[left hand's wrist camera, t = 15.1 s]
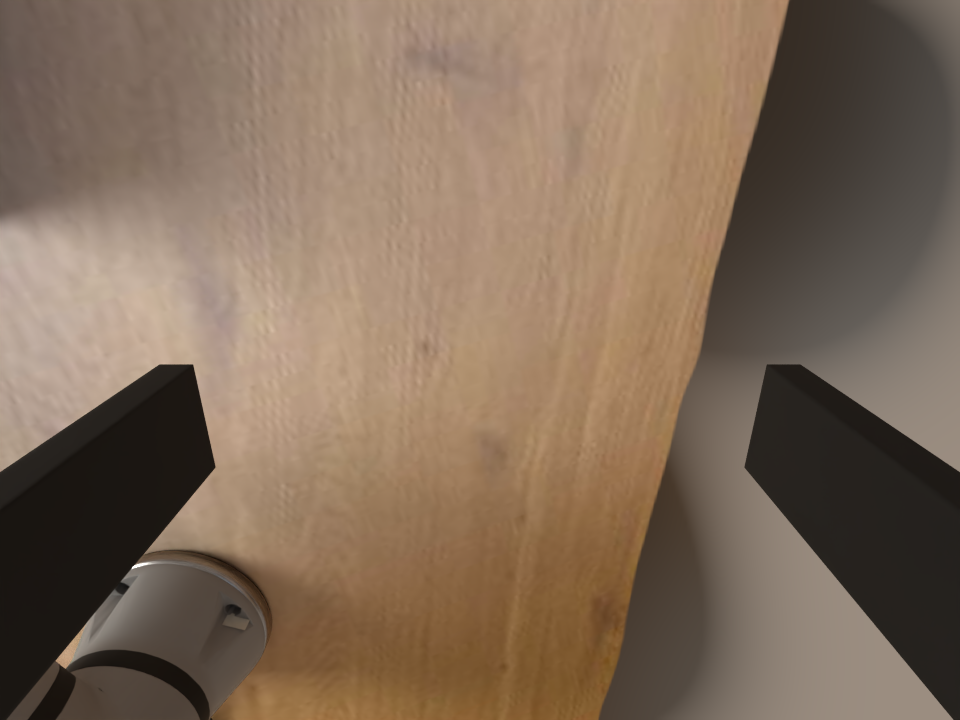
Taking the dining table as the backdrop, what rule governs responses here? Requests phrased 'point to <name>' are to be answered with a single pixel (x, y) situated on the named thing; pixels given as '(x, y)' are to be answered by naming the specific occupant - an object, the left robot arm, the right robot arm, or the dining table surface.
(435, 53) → the dining table surface
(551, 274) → the dining table surface
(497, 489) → the dining table surface
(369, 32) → the dining table surface
